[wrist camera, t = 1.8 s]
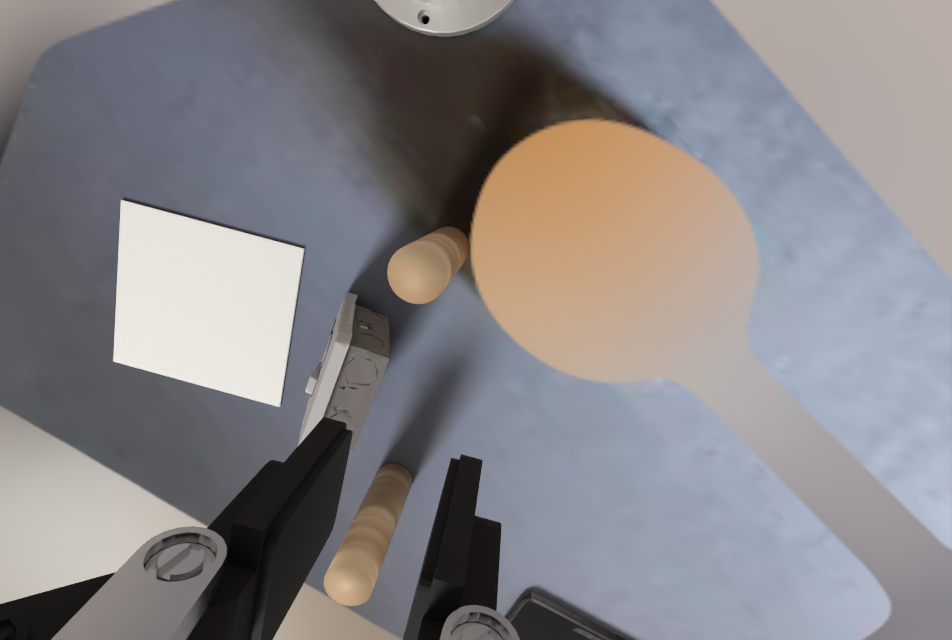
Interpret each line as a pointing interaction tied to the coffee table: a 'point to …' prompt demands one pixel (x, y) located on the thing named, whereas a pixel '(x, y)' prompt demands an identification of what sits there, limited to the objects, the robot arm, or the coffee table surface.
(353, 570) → the far oak dowel
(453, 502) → the robot arm
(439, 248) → the near oak dowel
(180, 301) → the mat
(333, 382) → the electrical switch
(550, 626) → the phone
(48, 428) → the coffee table surface
